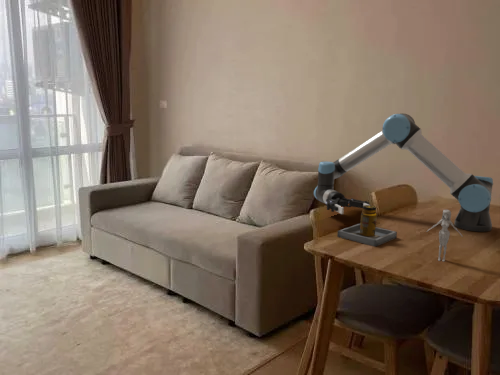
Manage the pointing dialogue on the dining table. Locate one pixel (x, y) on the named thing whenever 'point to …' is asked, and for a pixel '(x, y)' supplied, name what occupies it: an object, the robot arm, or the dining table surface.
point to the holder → (375, 241)
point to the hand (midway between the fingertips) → (357, 210)
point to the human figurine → (444, 231)
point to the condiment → (368, 222)
